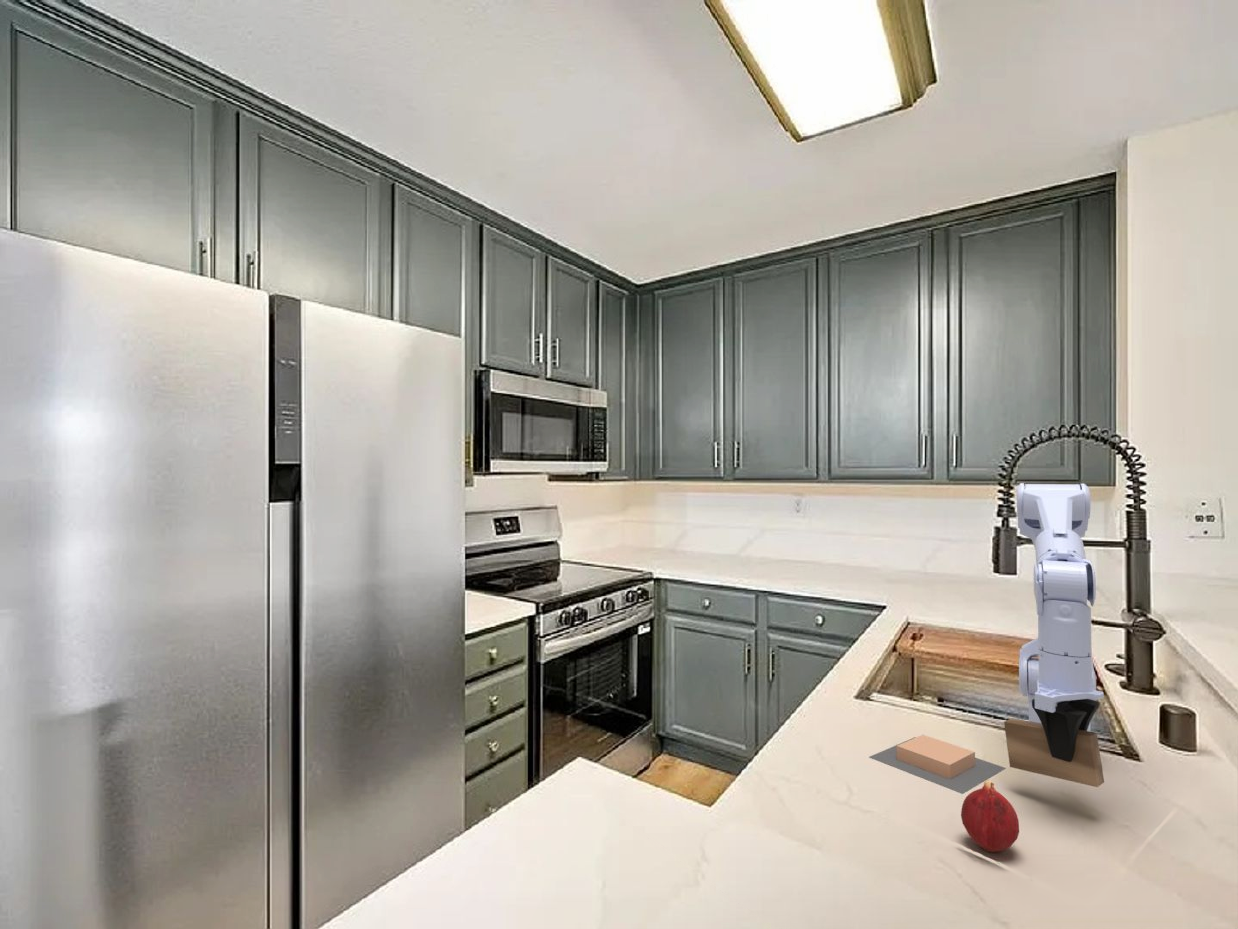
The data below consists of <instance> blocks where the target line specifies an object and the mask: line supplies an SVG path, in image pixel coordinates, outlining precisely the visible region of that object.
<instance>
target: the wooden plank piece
mask: <svg viewBox="0 0 1238 929" xmlns="http://www.w3.org/2000/svg"><path fill="white" fill-rule="evenodd" d="M1003 724H1004V725H1003V726H1004V730H1005V732H1004V733H1005V741H1006V748H1007V755H1008V762H1009V763H1008V764H1009V768H1013V769H1018V770H1021V771H1026V772H1029V773H1035V774H1039V775H1043V776H1048V777H1052V778H1055V779H1056V778H1057V779H1061V780H1065V781H1068V782H1073V783H1078V784H1082V785H1086V786H1090V787H1093V788H1094V787H1095V788H1099V787H1100V786H1101V785H1103V784H1104V782H1105V779H1104V773H1103V772H1104V770H1103V765H1102V759H1101V752H1100V745H1099V740H1098V739H1099V738H1098V732H1095V731H1091V732H1089V731H1083V730H1078V733H1077V737H1076V744H1075V752H1074V756H1073V759H1072V761H1071V762H1067V761H1064V760H1060V759H1057V758H1054V757H1052V755H1051V752H1050V749H1049V746H1048V742H1047V738H1046V735H1045V731H1044V728H1043V726H1042V723H1037V722H1031V721H1029V720H1025V719H1020V718H1015V717H1014V718H1013V717H1010V718H1009V719H1007V720H1005V721H1003Z"/></svg>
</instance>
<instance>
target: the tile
mask: <svg viewBox="0 0 1238 929" xmlns="http://www.w3.org/2000/svg"><path fill="white" fill-rule="evenodd" d="M913 738H914V737H913ZM910 739H911V740H909V739H908V740H909V741H907V740H906V741H907V742H905V741H903V742H904V743H902V742H901V743H902V744H900V743H899V744H900V745H898V744H897V745H898V746H897V759H898V760H901V761H903V762H906V763H909V764H911V765H914V766H917V767H919V768H922V769H925V770H927V771H930V772H933V773H935V774H938V775H940V776H943V777H946V778H948V779H951V778H953V777H955V776H956V775H958V774H960V773H962V772H964V771H966V770H967V769H969V768H971V767H973V766H975V758H976V751H974V750H971V749H968V748H965V747H962V746H960V745H959V746H958V745H956V744H952V743H949V742H946V741H944V740H940V739H938V738H934V737H931V736H928V735H925V734H921V735H919V736H916V738H914V739H912V738H910Z"/></svg>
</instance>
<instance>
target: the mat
mask: <svg viewBox="0 0 1238 929" xmlns="http://www.w3.org/2000/svg"><path fill="white" fill-rule="evenodd" d="M916 737H917V736H916ZM916 737H915V736H914V737H912V738H910V739H907V740H906V741H902V742H900V743H897V744H896V745H895V744H894V746H891V747H889V748H887V749H884V750H882V751H879V752H876V753H875V754H871V755H870V756H868V758H870V759H872V760H874V761H877V762H880V763H882V764H885V765H887V766H890V767H892V768H895V769H897V770H900V771H903V772H906V773H908V774H911V775H913V776H916V777H919V778H920V779H922V780H923V779H924V780H926V781H929V782H931V783H933V784H937V785H939V786H941V787H943V788H947V789H949V790H951V791H953V792H956V793H959V794H961V795H963V794H965V793H967V792H968V791H970V790H972V789H974V788H975V787H977V786H979V785H980V784H982V783H984V782H985V781H987V780H989V779H991V778H992V777H995V775H997V774H999V773H1001V772H1002V771H1004V770H1006V769H1007V767H1004V766H1001V765H999V764H995V763H993V762H989V761H986V760H983V759H980V758H978V757H975V766H973V767H971V768H969V769H967V770H966V771H964V772H962V773H960V774H958V775H956V776H955V777H953V778H951V779H948V778H946V777H943V776H940V775H938V774H935V773H933V772H930V771H927V770H925V769H922V768H919V767H917V766H914V765H911V764H909V763H906V762H903V761H901V760H898V759H897V746H898V745H900V744H902V743H904V742H907V741H909V740H911V739H914V738H916Z"/></svg>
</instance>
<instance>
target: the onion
mask: <svg viewBox="0 0 1238 929" xmlns="http://www.w3.org/2000/svg"><path fill="white" fill-rule="evenodd" d="M960 816H961V817H960V818H961V821H962V825H963V827H964V829H965V831H966V832H967V834H968V835H969V837H970V838H971V839H972V840H973V842H975V843H976V844H977V845H978V847H980V848H982V849H983V850H985V851H987V852H989V853H997V852H1001V851H1004V850H1007V849H1009V848H1010V847H1012V845H1014V844H1015V843H1016V841H1017V840H1018V836H1019V834H1020V823H1019V822H1020V821H1019V818H1018V814H1017V812H1016V809H1015V808H1014V807H1013V805H1012V804H1011V802H1009V800H1008V799H1007V798H1006V797H1005V796H1004V795H1002V794H1001V793H1000V792H999V791H997V790H996V788H995V784H994V783H993V781H991V780H989V779H987V780H985V781H984V782H983V786H982V787H981V788H978V789H976V790H973V791H971V792H970V793H969V794H968V795H967V796H966V797H965V798H964V800H963V802H962V805H961V812H960Z"/></svg>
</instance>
